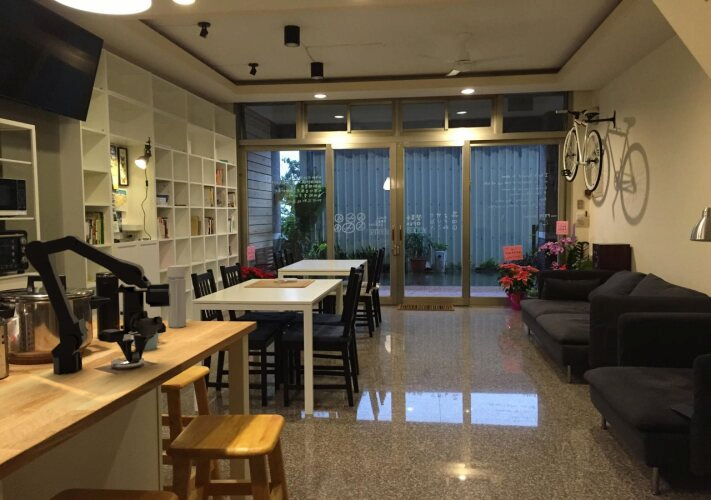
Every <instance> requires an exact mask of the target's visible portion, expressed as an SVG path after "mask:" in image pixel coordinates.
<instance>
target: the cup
mask: <svg viewBox="0 0 711 500" xmlns="http://www.w3.org/2000/svg"><path fill="white" fill-rule="evenodd" d="M135 335H136V334H135ZM133 340H134V335H133ZM133 342H134V346H133V347H134V350H136V349H135V341H133ZM158 345H159V336H158V333H156V335H154V337H152V338H151V339H150V340H149V341H148V342H147V344H146V346H145V349H144V352H149V351H155V350H156V349H157V348H158Z"/></svg>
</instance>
